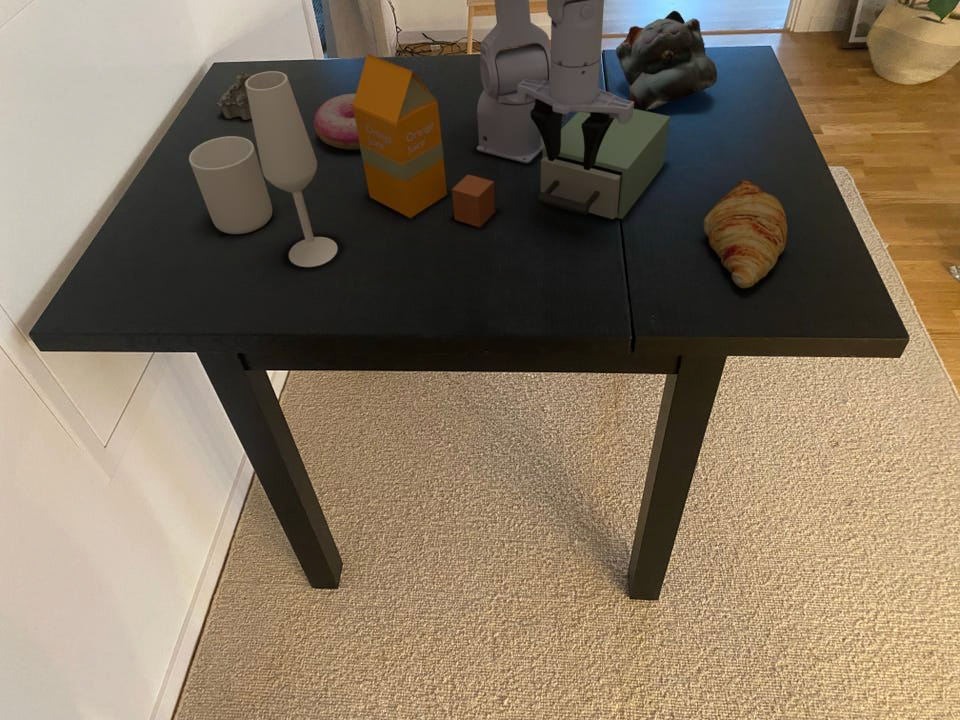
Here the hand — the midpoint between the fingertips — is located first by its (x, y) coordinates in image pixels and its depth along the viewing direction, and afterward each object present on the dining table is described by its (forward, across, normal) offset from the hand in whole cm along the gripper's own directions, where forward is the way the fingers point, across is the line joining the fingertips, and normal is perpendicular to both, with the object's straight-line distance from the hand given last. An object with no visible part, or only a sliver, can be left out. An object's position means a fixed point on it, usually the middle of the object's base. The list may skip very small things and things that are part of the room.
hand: (571, 161), depth 94 cm
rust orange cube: (+9, -12, -4) cm, 16 cm away
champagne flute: (+10, -28, -22) cm, 37 cm away
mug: (+10, -43, -18) cm, 48 cm away
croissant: (+10, +22, +6) cm, 25 cm away
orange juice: (+10, -24, -4) cm, 26 cm away
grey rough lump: (+10, -66, +6) cm, 67 cm away
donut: (+10, -42, +6) cm, 44 cm away
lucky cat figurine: (+10, -2, +40) cm, 41 cm away
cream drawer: (+9, 0, +7) cm, 11 cm away
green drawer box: (+9, 0, +12) cm, 15 cm away
